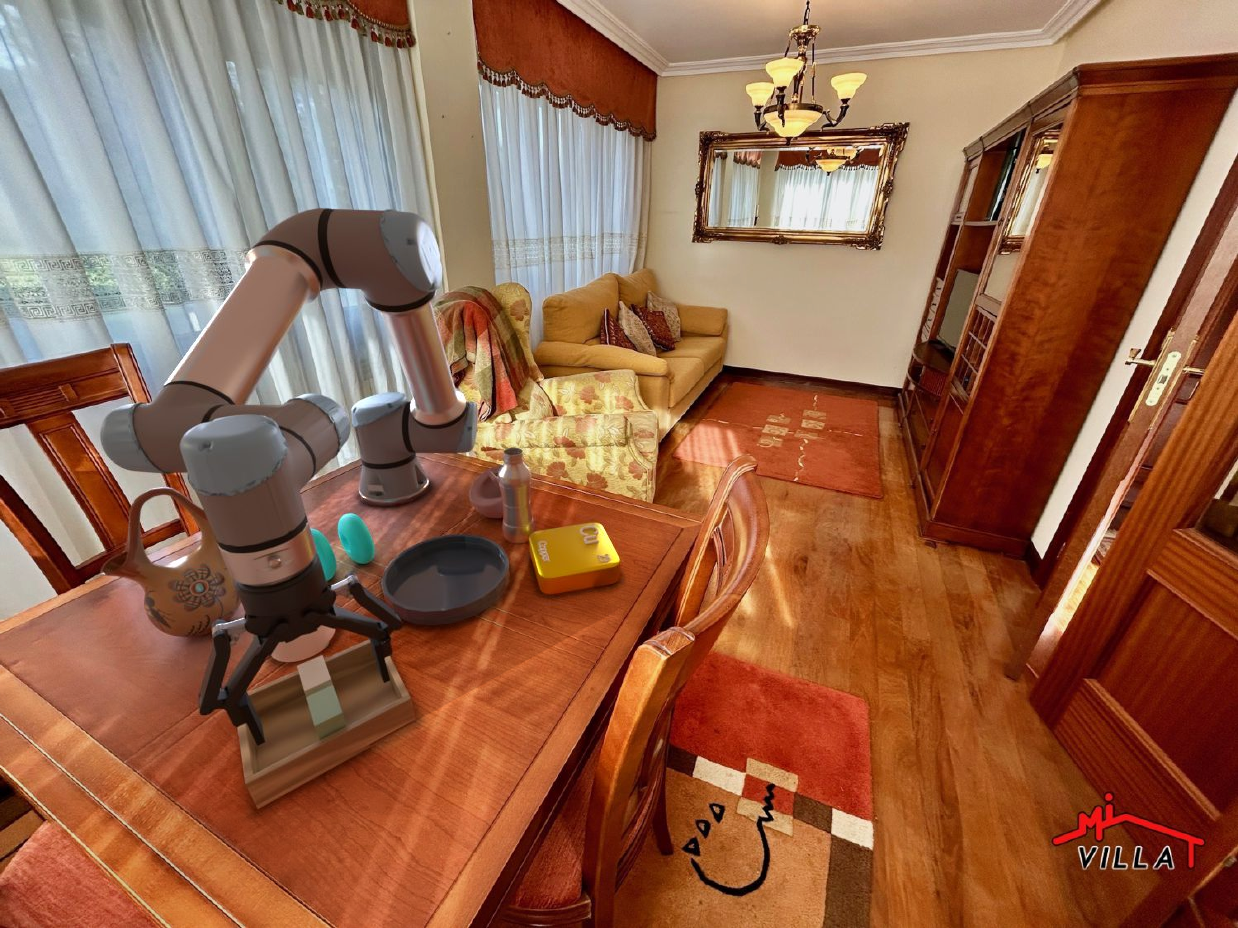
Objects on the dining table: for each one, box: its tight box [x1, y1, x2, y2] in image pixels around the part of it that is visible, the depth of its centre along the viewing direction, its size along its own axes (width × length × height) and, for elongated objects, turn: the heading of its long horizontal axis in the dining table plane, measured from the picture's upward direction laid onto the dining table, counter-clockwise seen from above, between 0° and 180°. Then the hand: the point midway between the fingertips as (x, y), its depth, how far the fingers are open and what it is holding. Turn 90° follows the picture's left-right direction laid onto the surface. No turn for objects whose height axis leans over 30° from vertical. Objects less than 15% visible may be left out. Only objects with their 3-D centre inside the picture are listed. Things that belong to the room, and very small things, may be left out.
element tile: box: [528, 522, 621, 595], centre depth 95 cm, size 15×15×5 cm
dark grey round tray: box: [380, 533, 511, 626], centre depth 90 cm, size 21×22×4 cm
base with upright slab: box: [270, 625, 336, 663], centre depth 75 cm, size 9×9×12 cm
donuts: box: [310, 512, 376, 582], centre depth 91 cm, size 10×10×10 cm
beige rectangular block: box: [296, 654, 333, 697], centre depth 66 cm, size 5×3×6 cm, turn 39°
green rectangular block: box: [306, 685, 347, 740], centre depth 62 cm, size 5×3×6 cm, turn 39°
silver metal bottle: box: [497, 447, 536, 545], centre depth 99 cm, size 6×7×20 cm
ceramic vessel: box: [100, 487, 242, 638], centre depth 74 cm, size 16×9×25 cm, turn 153°
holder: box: [236, 639, 417, 810], centre depth 65 cm, size 14×18×5 cm
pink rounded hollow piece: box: [468, 464, 503, 519], centre depth 109 cm, size 12×12×12 cm
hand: (325, 703), depth 61 cm, fingers open, 13 cm apart
